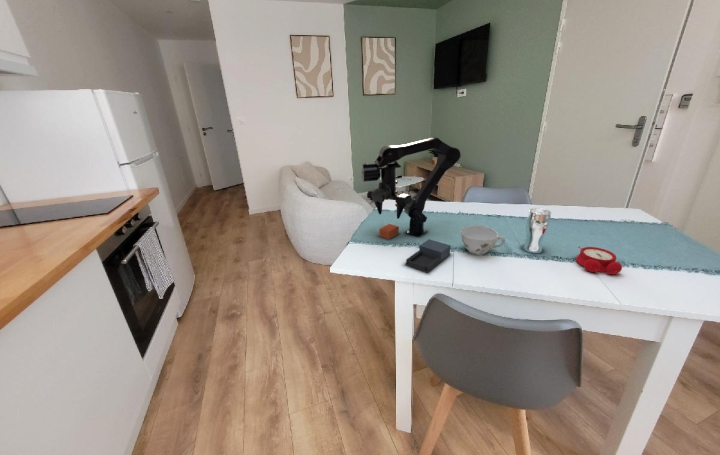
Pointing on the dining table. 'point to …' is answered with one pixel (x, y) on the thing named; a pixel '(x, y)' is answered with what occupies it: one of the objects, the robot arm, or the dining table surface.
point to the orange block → (389, 231)
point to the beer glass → (536, 229)
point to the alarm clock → (598, 260)
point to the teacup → (480, 239)
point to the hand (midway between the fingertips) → (389, 216)
